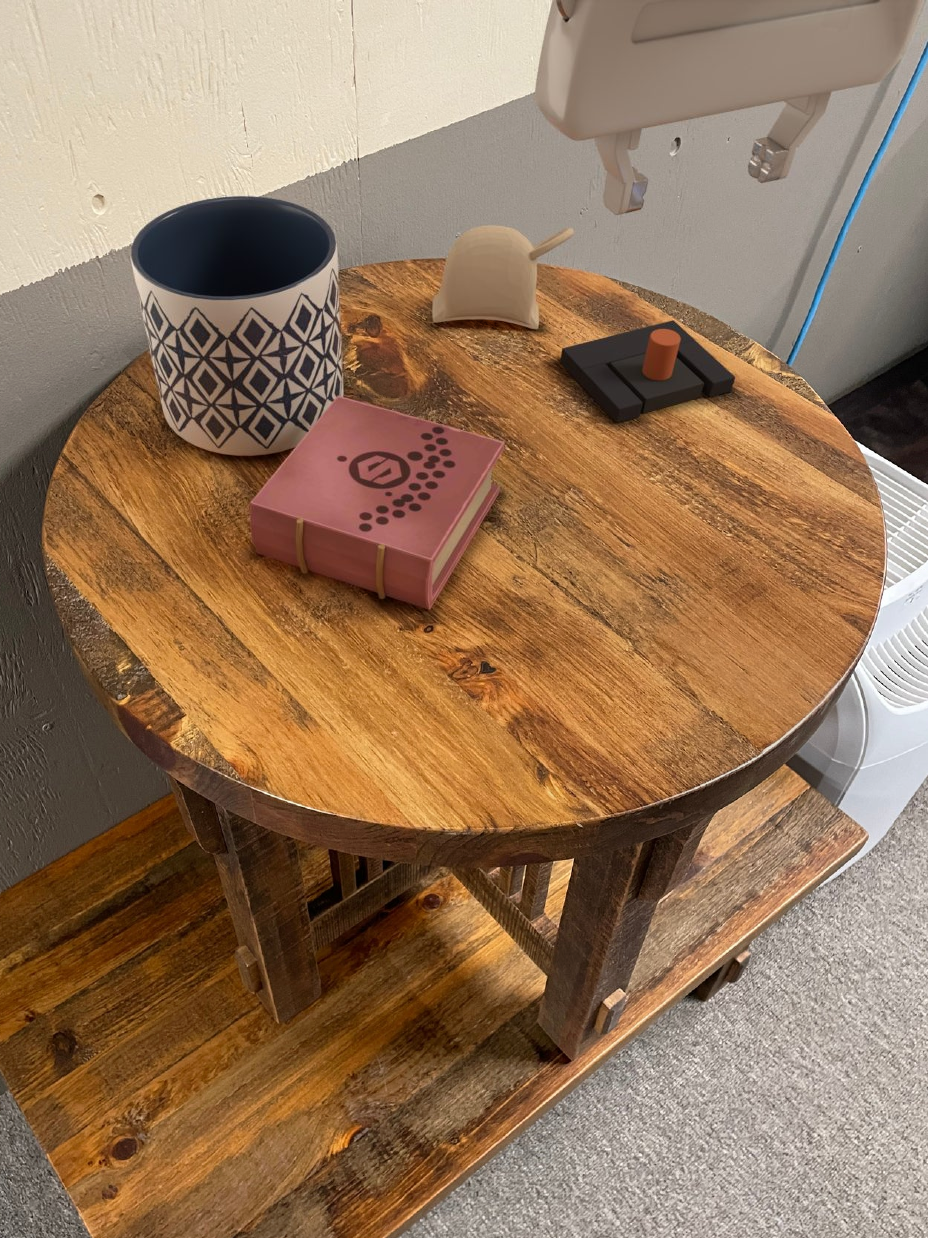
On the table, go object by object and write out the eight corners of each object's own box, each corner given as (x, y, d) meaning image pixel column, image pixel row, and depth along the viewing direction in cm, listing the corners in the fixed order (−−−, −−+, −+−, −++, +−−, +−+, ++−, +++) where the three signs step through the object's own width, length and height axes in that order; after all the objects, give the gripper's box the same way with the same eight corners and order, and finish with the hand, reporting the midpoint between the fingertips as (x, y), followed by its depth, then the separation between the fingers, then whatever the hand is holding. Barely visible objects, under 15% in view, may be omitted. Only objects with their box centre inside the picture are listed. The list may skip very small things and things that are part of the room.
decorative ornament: (434, 289, 99) (439, 207, 93) (560, 298, 99) (574, 217, 92) (430, 323, 96) (435, 240, 89) (561, 332, 95) (575, 250, 89)
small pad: (663, 362, 92) (675, 311, 88) (700, 397, 89) (714, 346, 85) (607, 376, 91) (617, 326, 87) (642, 413, 87) (654, 362, 83)
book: (251, 560, 76) (244, 509, 72) (340, 446, 84) (337, 395, 80) (424, 617, 72) (426, 567, 68) (499, 492, 81) (504, 441, 77)
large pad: (670, 334, 95) (673, 319, 94) (731, 391, 89) (736, 376, 88) (559, 362, 92) (561, 347, 91) (616, 423, 86) (619, 408, 85)
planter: (341, 349, 93) (334, 192, 82) (347, 457, 84) (340, 295, 72) (170, 355, 93) (139, 197, 81) (156, 464, 83) (118, 302, 72)
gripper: (604, -82, 40) (558, 256, 51) (999, -134, 45) (878, 183, 56) (530, -123, 43) (501, 202, 54) (903, -167, 48) (807, 138, 59)
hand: (695, 192), depth 55 cm, fingers open, 8 cm apart
